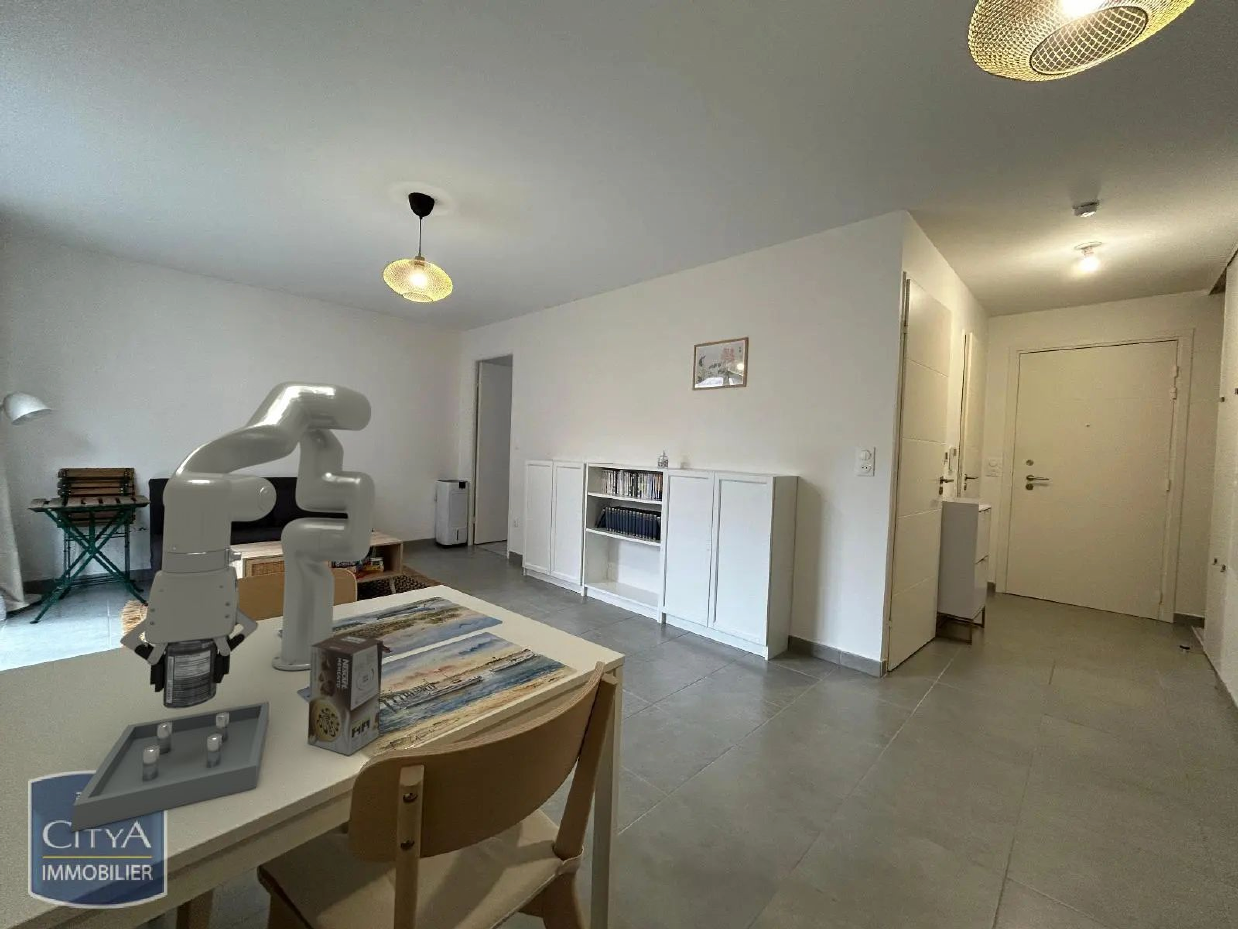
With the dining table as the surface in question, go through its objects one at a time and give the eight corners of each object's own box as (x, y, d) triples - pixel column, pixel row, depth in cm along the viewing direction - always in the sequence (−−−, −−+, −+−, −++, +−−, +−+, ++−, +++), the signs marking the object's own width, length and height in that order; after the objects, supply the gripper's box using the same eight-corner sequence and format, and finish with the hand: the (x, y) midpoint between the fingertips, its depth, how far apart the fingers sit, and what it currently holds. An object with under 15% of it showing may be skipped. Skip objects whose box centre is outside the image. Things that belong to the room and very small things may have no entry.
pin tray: (268, 719, 86) (269, 690, 86) (255, 788, 69) (257, 751, 69) (127, 745, 77) (128, 712, 77) (71, 832, 60) (73, 789, 60)
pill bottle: (184, 690, 76) (188, 616, 76) (225, 691, 76) (229, 617, 76) (150, 710, 70) (155, 629, 70) (196, 710, 70) (200, 630, 70)
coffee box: (380, 736, 83) (385, 640, 83) (348, 757, 77) (353, 654, 77) (339, 724, 86) (343, 631, 86) (304, 743, 80) (309, 643, 80)
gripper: (270, 553, 81) (265, 664, 81) (124, 559, 72) (119, 684, 72) (266, 563, 74) (260, 683, 74) (105, 570, 65) (99, 708, 65)
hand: (190, 682), depth 73 cm, fingers closed on pill bottle, 6 cm apart
